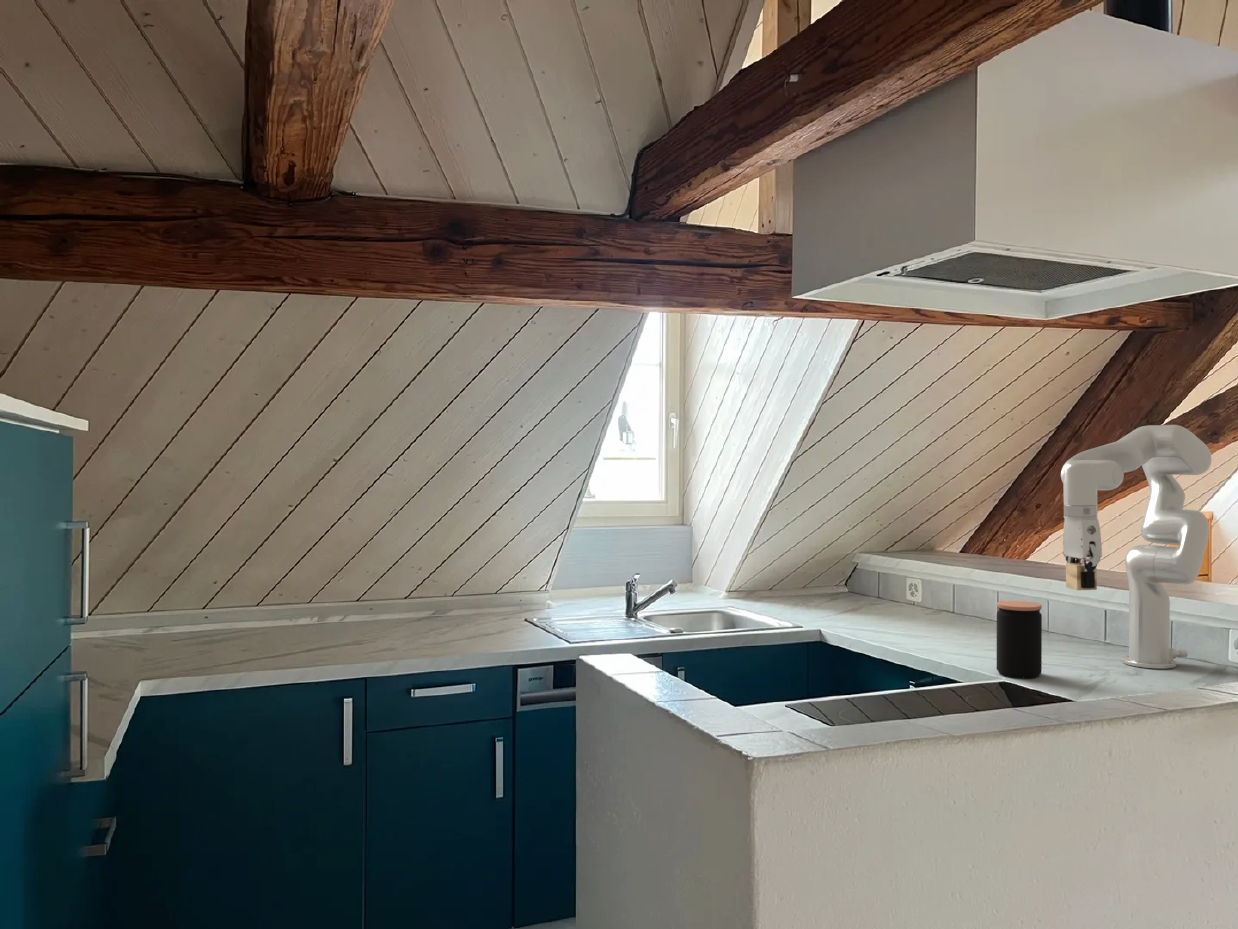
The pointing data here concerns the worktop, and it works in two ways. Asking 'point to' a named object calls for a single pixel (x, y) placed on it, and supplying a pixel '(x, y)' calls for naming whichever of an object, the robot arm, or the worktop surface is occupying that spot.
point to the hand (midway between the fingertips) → (1081, 585)
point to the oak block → (1076, 576)
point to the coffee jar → (1019, 639)
